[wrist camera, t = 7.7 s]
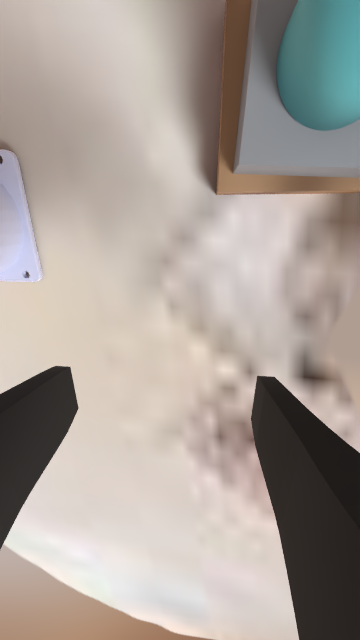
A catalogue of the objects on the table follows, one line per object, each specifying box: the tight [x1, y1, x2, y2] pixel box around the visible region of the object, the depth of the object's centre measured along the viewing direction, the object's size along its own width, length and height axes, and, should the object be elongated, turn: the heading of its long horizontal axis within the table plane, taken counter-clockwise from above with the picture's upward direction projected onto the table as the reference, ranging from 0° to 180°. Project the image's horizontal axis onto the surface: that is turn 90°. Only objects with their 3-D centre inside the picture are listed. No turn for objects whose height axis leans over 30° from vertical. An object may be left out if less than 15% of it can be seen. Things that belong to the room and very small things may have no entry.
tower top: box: [233, 0, 360, 178], centre depth 11 cm, size 6×6×2 cm
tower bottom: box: [216, 0, 360, 195], centre depth 13 cm, size 8×8×2 cm
